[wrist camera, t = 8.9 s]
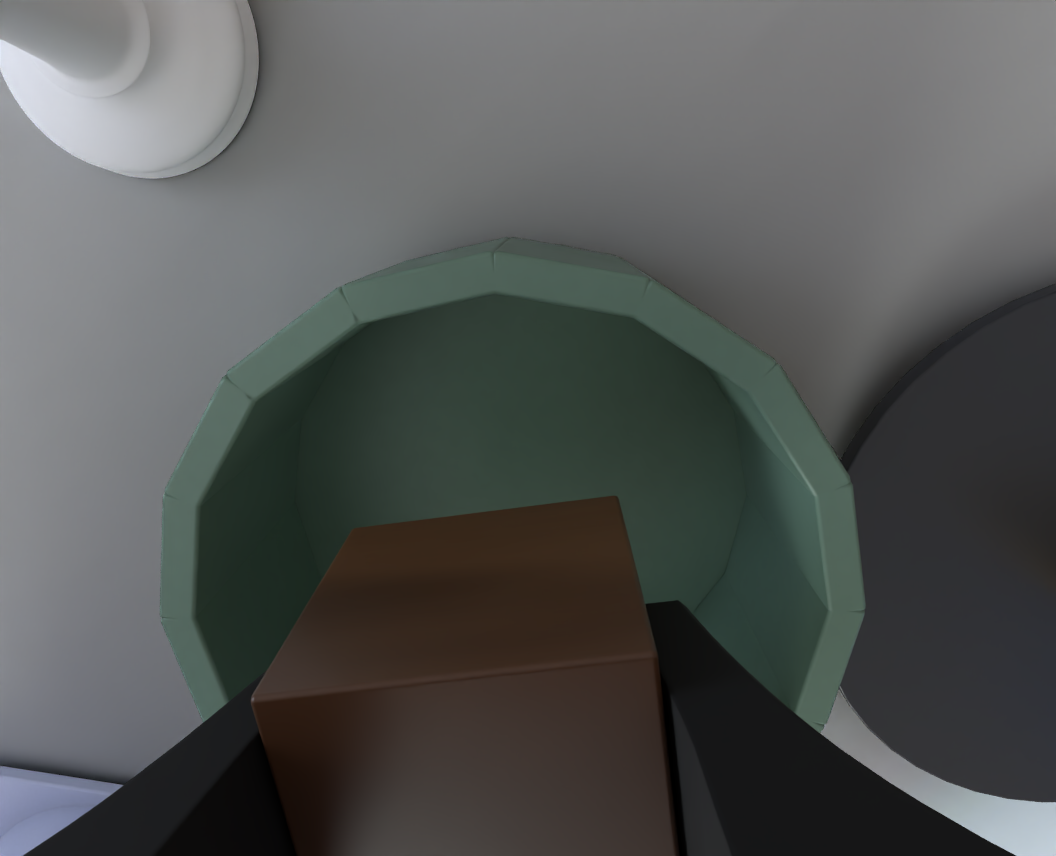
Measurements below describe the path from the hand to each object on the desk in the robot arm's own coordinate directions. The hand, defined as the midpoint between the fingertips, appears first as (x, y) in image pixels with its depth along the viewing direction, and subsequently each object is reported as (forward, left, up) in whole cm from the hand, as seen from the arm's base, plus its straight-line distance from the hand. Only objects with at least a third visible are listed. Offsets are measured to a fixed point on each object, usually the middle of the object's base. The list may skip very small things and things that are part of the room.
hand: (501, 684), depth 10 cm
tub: (0, 0, -7) cm, 7 cm away
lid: (+1, -13, -7) cm, 15 cm away
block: (0, 0, -1) cm, 1 cm away
